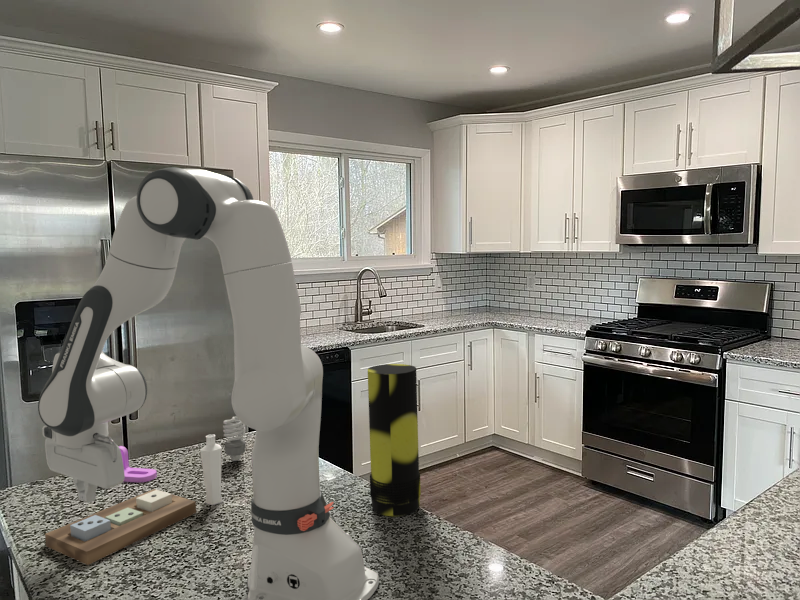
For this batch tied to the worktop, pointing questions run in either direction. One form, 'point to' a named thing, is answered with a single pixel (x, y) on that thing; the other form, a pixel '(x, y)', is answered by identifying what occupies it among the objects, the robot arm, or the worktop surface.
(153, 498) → the tile
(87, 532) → the tile
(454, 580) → the worktop surface
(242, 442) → the light bulb
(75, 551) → the dice board
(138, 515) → the tile
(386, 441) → the container
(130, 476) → the bracket
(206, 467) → the white faceted bottle
